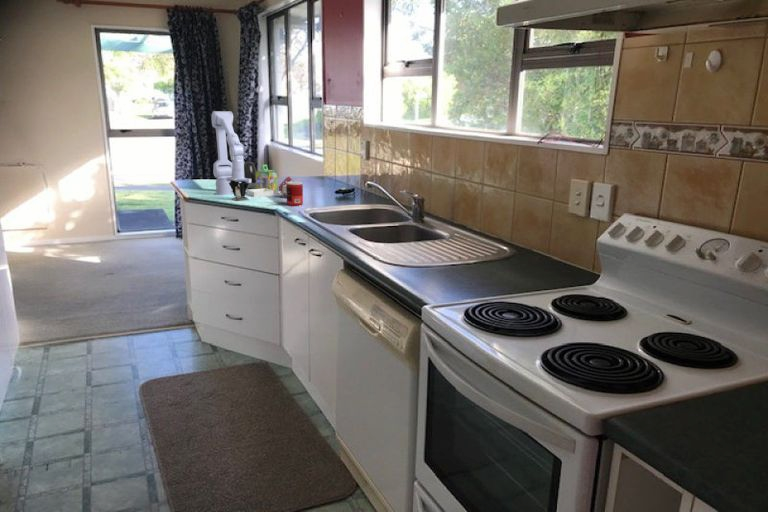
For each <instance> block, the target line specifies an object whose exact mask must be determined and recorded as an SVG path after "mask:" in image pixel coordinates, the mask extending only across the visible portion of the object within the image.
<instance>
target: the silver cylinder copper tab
mask: <svg viewBox="0 0 768 512" xmlns="http://www.w3.org/2000/svg"><path fill="white" fill-rule="evenodd" d="M235 195H236V196H235V197H236V199H237V200H238V199H244V197H245V196H244V197H241V190H240V186H239V185H238V186H236V187H235Z"/></svg>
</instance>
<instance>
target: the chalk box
mask: <svg viewBox="0 0 768 512" xmlns="http://www.w3.org/2000/svg"><path fill="white" fill-rule="evenodd" d="M255 176H256V187H255V189H263V188H267V189H270V190H273V191H274V192H277V191H279V184H278V170H276V169H275V170H273V169H269V168H268V164H263V165H262V169H259V170H256V171H255ZM276 190H277V191H276Z"/></svg>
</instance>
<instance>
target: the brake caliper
mask: <svg viewBox="0 0 768 512" xmlns="http://www.w3.org/2000/svg"><path fill="white" fill-rule="evenodd" d="M287 182H295V181H294V179H293V178H292V177H290V176H286V178H285V179H284V180H283V181H282V182H281V183H280V184H279V185H278V191H276V192H277V193H276V195H277V196H279V197H278V198H279V199H287V190H286V183H287Z"/></svg>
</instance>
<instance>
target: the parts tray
mask: <svg viewBox="0 0 768 512" xmlns="http://www.w3.org/2000/svg"><path fill="white" fill-rule="evenodd" d="M246 195H248V196H251V197H253V198H260V197H271V196H272V197H273V196H275V191H273V190H270V189H267V188H263V189H256V188H252V189H246Z"/></svg>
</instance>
